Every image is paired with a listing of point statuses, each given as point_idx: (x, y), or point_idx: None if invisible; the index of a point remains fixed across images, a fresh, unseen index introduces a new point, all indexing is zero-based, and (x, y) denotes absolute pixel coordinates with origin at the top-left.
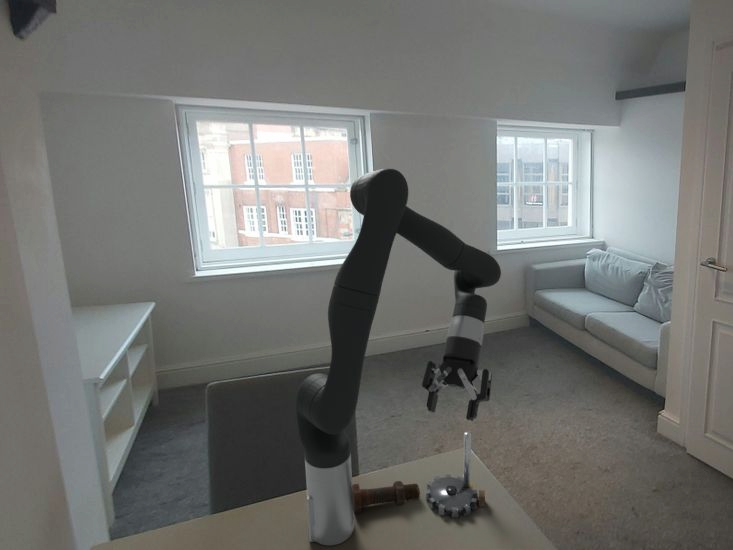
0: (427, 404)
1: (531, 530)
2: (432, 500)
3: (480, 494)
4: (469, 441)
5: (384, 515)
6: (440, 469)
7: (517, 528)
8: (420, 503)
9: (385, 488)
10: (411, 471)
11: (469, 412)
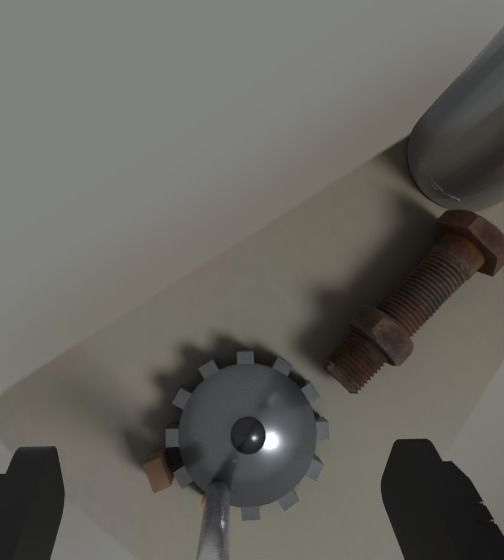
0: (463, 483)
1: (7, 440)
2: (280, 364)
3: (159, 467)
4: None
5: (376, 265)
6: (336, 542)
7: (43, 425)
8: (316, 360)
9: (419, 304)
10: None
11: (7, 492)
